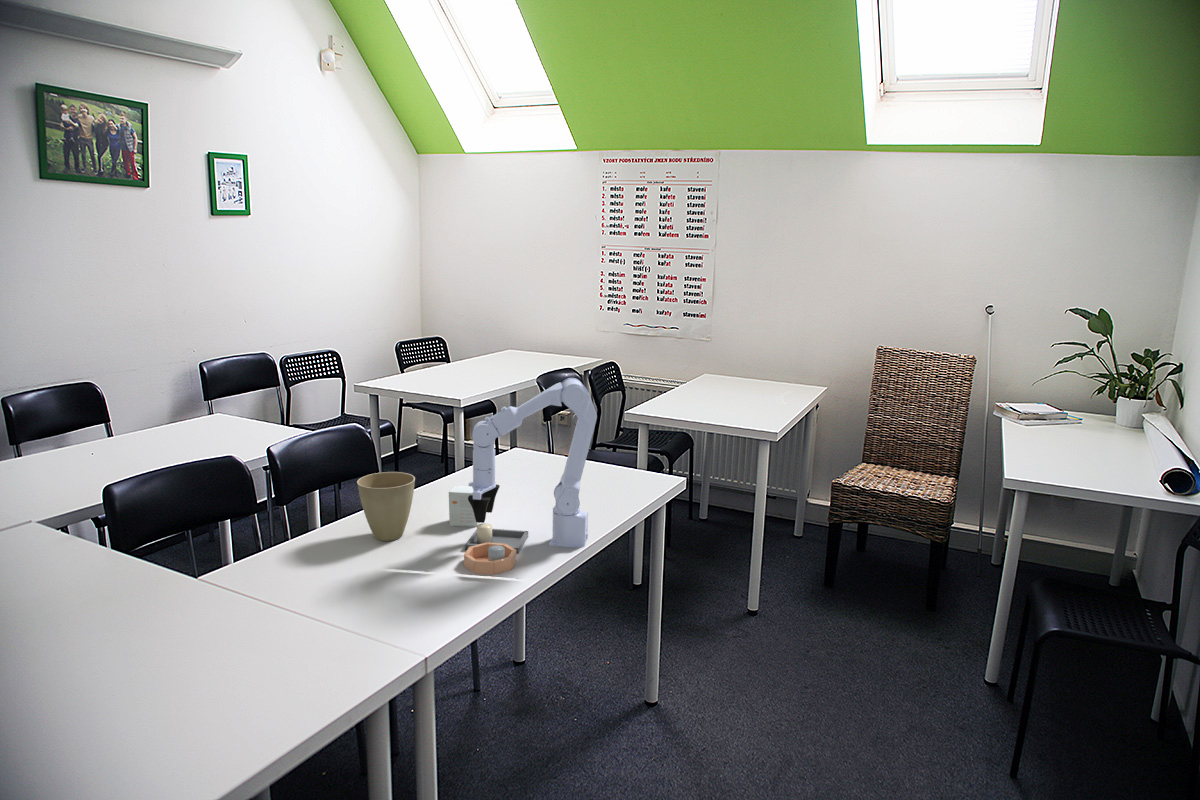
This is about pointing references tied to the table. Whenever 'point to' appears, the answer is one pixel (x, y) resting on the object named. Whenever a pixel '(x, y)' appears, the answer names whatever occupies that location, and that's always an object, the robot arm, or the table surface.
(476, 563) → the bowl
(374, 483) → the plant pot
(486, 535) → the pebble sand
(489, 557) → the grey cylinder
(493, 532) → the tray
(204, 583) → the table surface
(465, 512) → the small box
